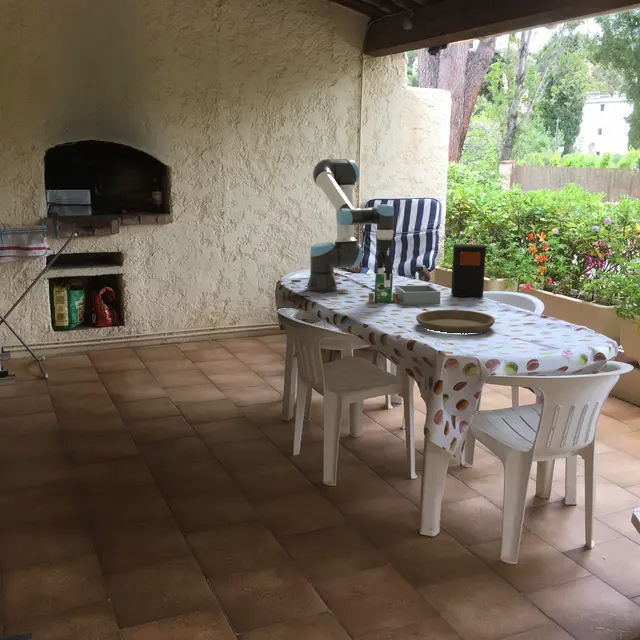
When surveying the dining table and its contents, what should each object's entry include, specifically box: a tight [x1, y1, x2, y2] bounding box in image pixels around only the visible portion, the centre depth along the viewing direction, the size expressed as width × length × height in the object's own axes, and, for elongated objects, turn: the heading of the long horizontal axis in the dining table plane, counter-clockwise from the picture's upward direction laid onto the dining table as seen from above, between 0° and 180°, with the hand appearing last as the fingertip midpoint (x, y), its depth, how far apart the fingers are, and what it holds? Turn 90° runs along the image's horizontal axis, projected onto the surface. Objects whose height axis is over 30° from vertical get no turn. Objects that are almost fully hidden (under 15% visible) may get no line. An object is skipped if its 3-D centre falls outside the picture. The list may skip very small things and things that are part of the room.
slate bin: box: [394, 284, 442, 306], centre depth 342 cm, size 17×17×6 cm
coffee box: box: [374, 273, 394, 303], centre depth 340 cm, size 8×3×13 cm, turn 91°
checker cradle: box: [368, 291, 399, 303], centre depth 341 cm, size 4×13×4 cm, turn 98°
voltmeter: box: [450, 243, 487, 298], centre depth 353 cm, size 16×9×25 cm, turn 84°
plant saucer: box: [415, 309, 496, 334], centre depth 292 cm, size 31×31×5 cm
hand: (383, 284), depth 339 cm, fingers open, 13 cm apart
